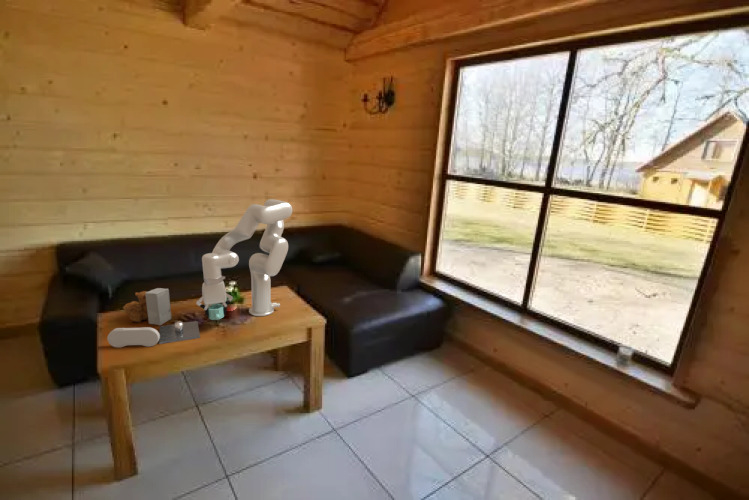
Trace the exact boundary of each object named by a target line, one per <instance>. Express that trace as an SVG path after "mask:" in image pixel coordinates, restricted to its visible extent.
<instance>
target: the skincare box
mask: <svg viewBox="0 0 749 500" xmlns="http://www.w3.org/2000/svg"><path fill="white" fill-rule="evenodd" d="M145 295H146V303H147V312H148V320H147V321H148V324H150V325H156V326H163V324H165V323H166V322H169V321H170V320H171V319H172V309H171V301H170V290H169V288H161V287H157V288H154V289H150V290H149V291H147V292H146V293H145Z"/></svg>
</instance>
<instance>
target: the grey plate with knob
mask: <svg viewBox="0 0 749 500" xmlns="http://www.w3.org/2000/svg"><path fill="white" fill-rule="evenodd" d="M199 327H200V326H199V322H198V320H194V321H186V322H183V321H180V320H179V321H178V320H177V321H175V322H174V323H172V324H166V325H159V331H158V332H159V334H160V339H159V341H158V344H159V345H162V344H168V343H175V342H182V341H188V340H193V339H194V340H195V339H200V338H201V334H200V329H199Z"/></svg>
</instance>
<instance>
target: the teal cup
mask: <svg viewBox="0 0 749 500" xmlns="http://www.w3.org/2000/svg"><path fill="white" fill-rule="evenodd" d="M208 313H209V317H208V319H209V320H211V321H215V320H217V321H218V320H222V318H224V317H225V315H224V308H223V304H222V303H217V304H210V305H209V306H208Z"/></svg>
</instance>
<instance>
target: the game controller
mask: <svg viewBox="0 0 749 500" xmlns="http://www.w3.org/2000/svg"><path fill="white" fill-rule="evenodd" d="M106 338H107V342H108V344H109V345H111V346H112V348H113V347H114V348H124V347H126V346H144V347H154V346H156V345H157V344H158V343H159V339H160V334H159V331H158V330H157V329H156V328H153V327H150V326H149V327H148V326H147V327H146V326H145V327H116V328H114V329H113V330H111V331H110V332H109V333H108V335H107V337H106Z"/></svg>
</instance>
